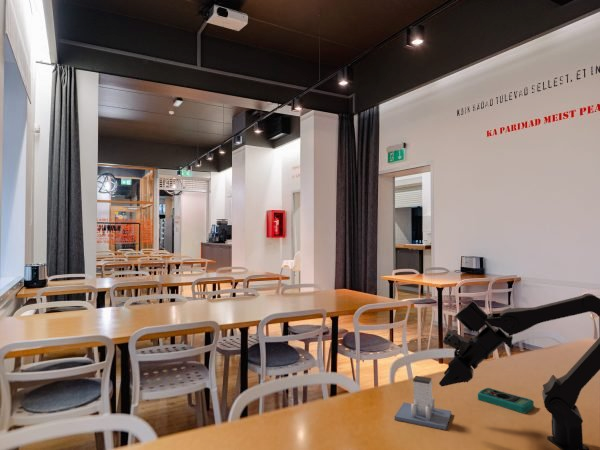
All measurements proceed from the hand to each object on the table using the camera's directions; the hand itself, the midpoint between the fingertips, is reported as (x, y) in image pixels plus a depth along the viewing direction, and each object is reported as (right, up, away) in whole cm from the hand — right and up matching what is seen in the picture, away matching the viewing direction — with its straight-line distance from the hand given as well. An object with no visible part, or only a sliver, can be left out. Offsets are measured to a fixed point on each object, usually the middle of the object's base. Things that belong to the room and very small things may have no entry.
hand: (442, 379), depth 113 cm
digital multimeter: (+24, -12, +11) cm, 29 cm away
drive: (-5, -11, +2) cm, 12 cm away
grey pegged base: (-5, -12, +2) cm, 13 cm away
